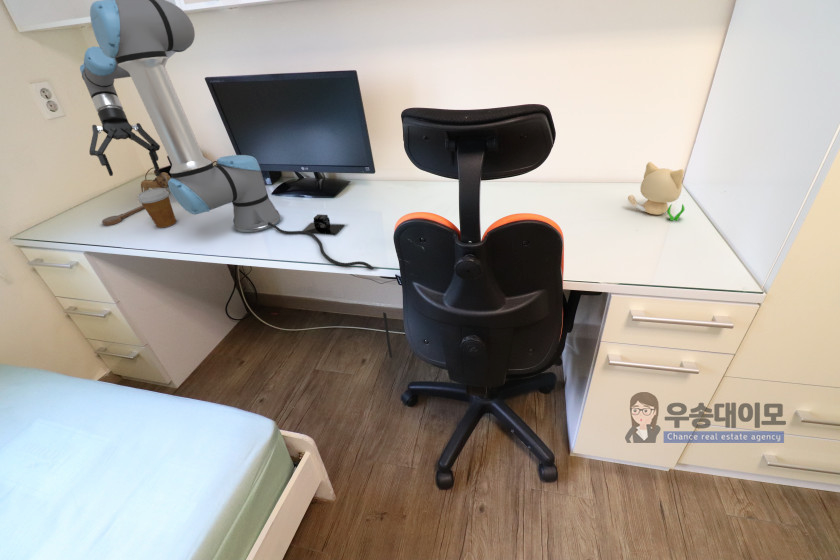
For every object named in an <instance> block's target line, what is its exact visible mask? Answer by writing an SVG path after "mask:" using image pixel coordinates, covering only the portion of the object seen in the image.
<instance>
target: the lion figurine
mask: <svg viewBox="0 0 840 560" xmlns="http://www.w3.org/2000/svg"><path fill="white" fill-rule="evenodd" d="M171 178H172V177H171V175H169V173H167V172H160V173H159V174H158V175H157V176H156V177H154V179H153V180H147V179H145V180H142V181H141V182H140V190H141V193H142V192H144V191H147V190H150V189H155V188H164V189H166V188H169V186H168V181H169V180H170V179H171Z"/></svg>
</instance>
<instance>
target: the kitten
mask: <svg viewBox="0 0 840 560" xmlns="http://www.w3.org/2000/svg"><path fill="white" fill-rule="evenodd" d="M684 172H685V171H684V169H683V168H680V169H677V170H673V169H670V168H659V167H658V166H657V165H655V164H654V163H653V162H652V161H648V162H647V163H646V165H645V171H644V173H643V179H642V181H641V183H640V186H639V187H640V194H641V195H642V197H644V198H645V199H646V200H645V202H643V204H640V203H638V202H637V200H636V198H635V196H634V195H633V194H630V195H629V194H628V196H627V201H628V202H629V203H630V204H631V205H632V206H633V207H635V208H636V209H637V210H639V211H642V212H645V213H647V214H650V215H663V214H665V213H666V214H667V215H668V219H669V221H676V222H678V220H679V219H680V217H681V215H682V214H683V213H684V212H685V210H686V208H685V206H684V204H683V203H682V204H681V210H680V211H679V212H678V213H676V215H675V216H673V215H672V213H671V208H672V205H673V204H672V203H673V202H675V201H677V200H678V199H680V197H681V194H682V190H683V184H682V183H683V178H684ZM669 203H671V204H670V205H669Z"/></svg>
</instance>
